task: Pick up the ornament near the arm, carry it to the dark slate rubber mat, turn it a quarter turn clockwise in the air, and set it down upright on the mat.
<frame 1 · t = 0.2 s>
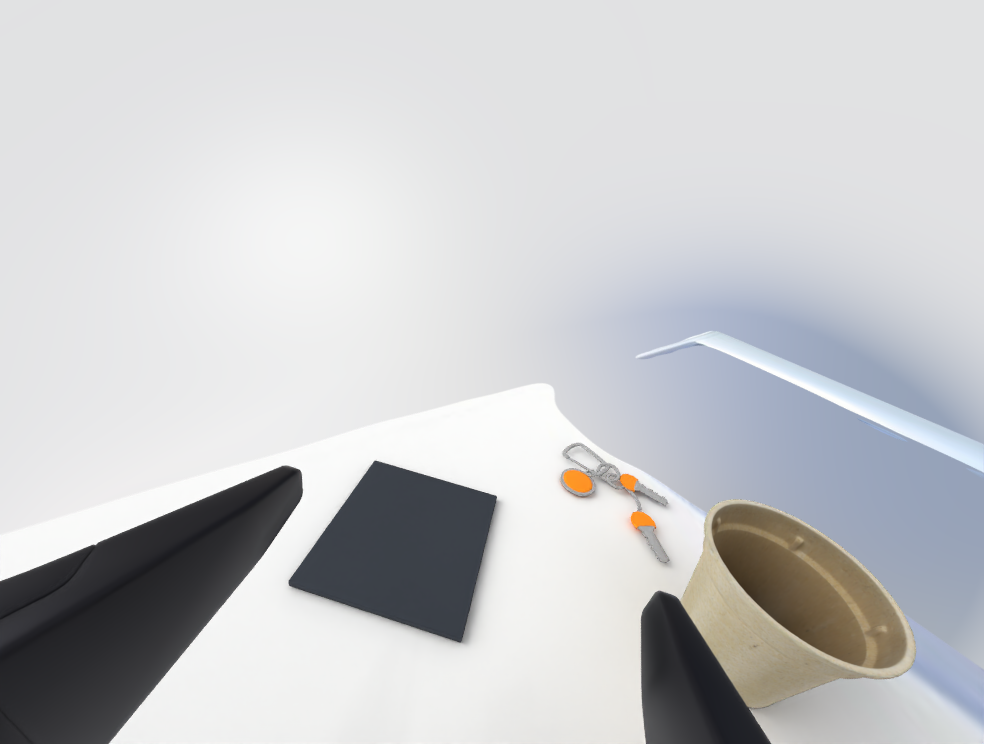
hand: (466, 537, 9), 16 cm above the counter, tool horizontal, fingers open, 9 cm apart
key chain: (613, 495, 34), on the counter
flower pot: (719, 648, 24), on the counter
mat: (409, 535, 26), on the counter
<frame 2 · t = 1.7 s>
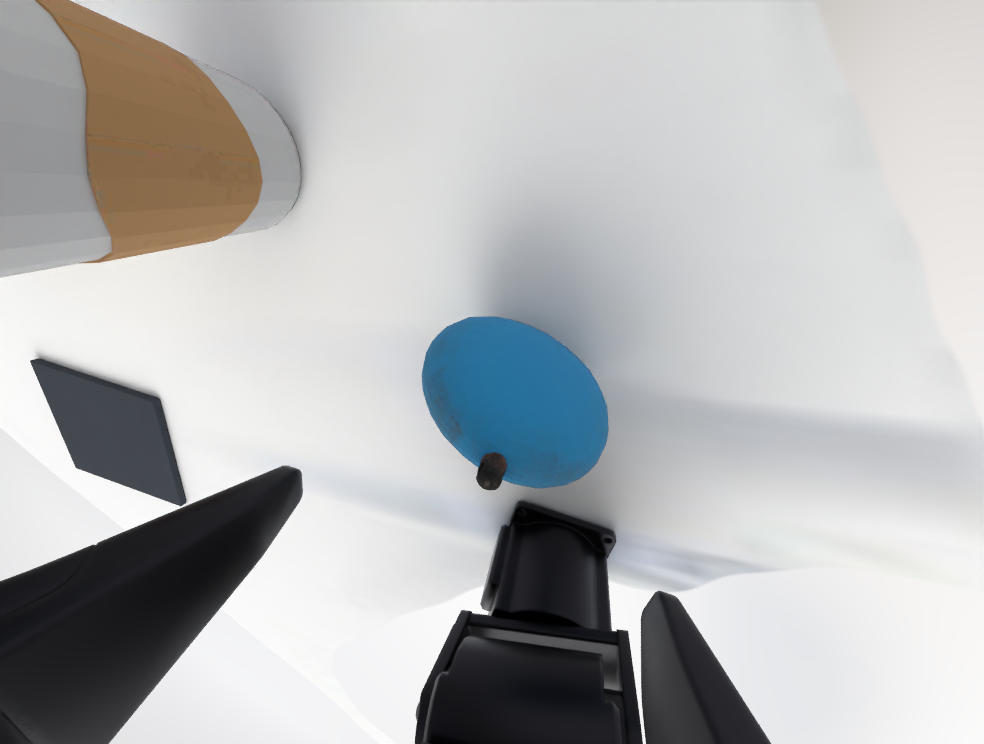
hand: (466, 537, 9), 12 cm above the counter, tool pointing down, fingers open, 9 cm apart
coffee cup: (251, 160, 18), on the counter
mat: (117, 434, 30), on the counter
ornament: (529, 354, 19), on the counter
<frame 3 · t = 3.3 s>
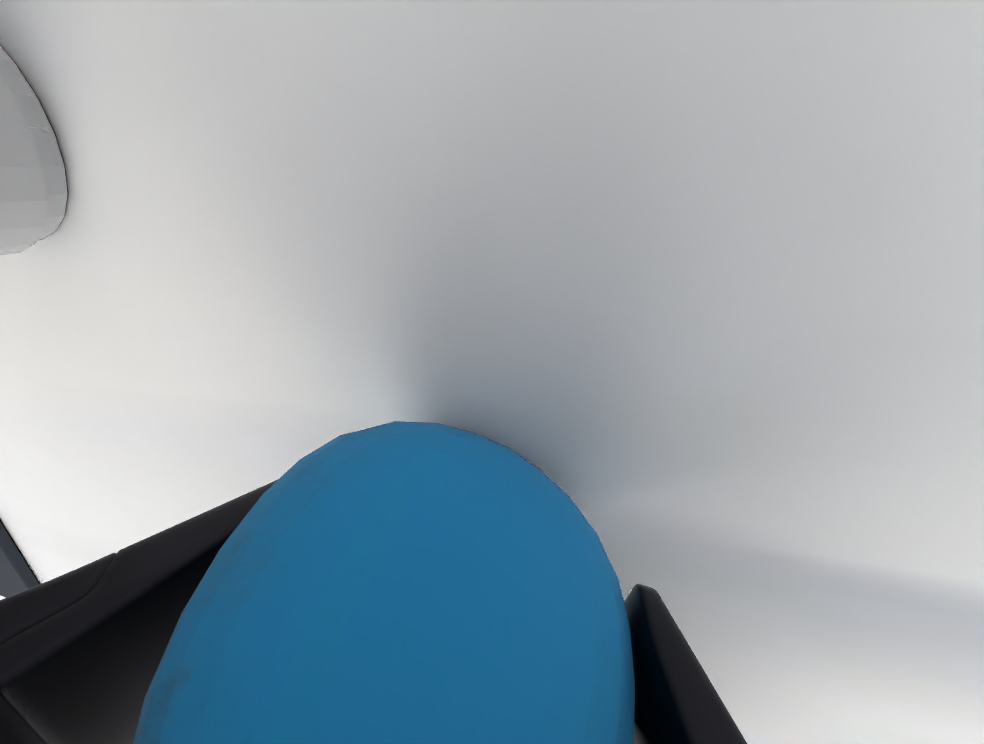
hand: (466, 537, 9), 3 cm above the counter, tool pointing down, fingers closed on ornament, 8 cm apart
ornament: (489, 464, 11), on the counter, touching gripper
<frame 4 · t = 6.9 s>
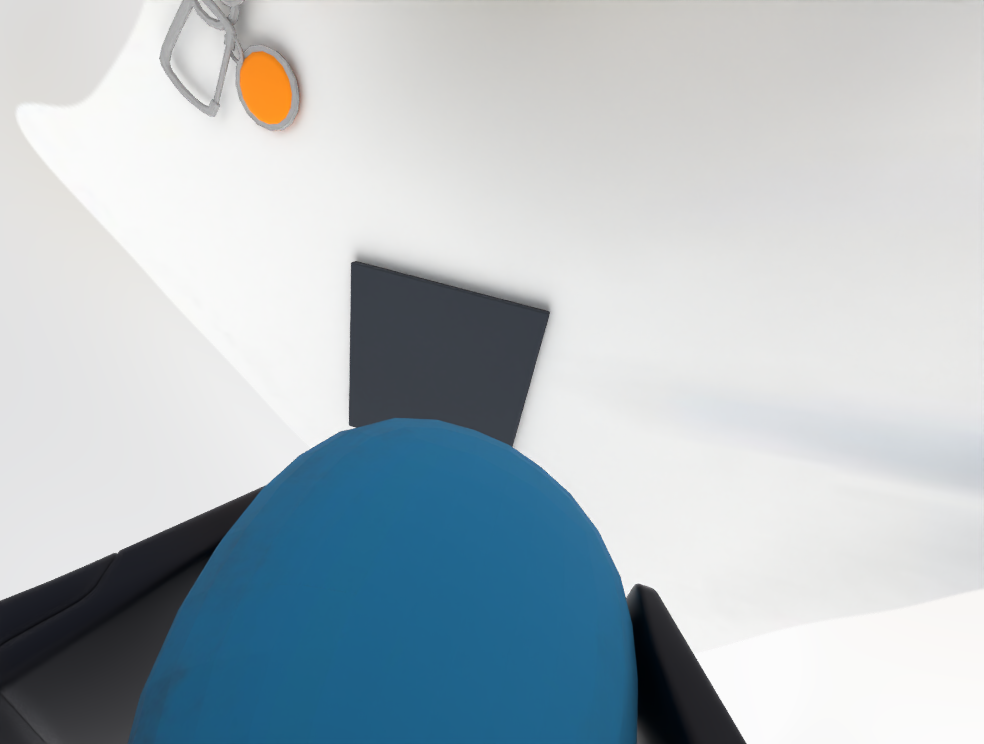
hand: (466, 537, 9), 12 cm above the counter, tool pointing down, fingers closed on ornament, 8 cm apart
mat: (437, 374, 22), on the counter
ornament: (490, 461, 11), point 10 cm above the counter, touching gripper
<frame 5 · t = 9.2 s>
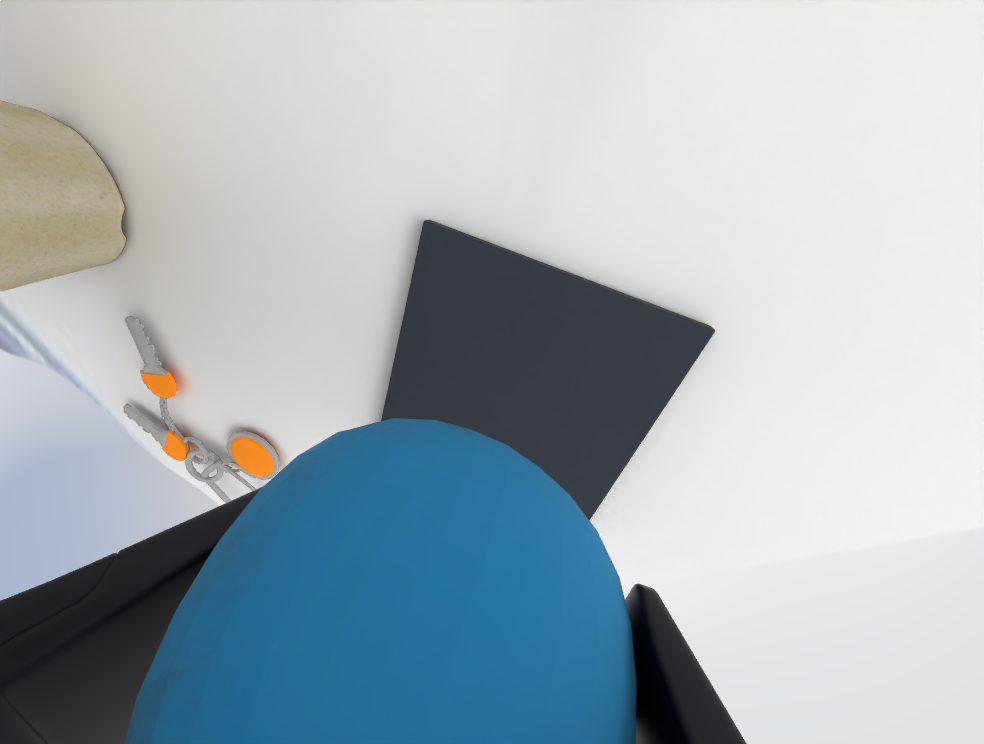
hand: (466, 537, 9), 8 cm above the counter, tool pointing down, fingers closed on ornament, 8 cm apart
key chain: (205, 428, 21), on the counter
flower pot: (78, 195, 17), on the counter
mat: (516, 393, 16), on the counter
ornament: (489, 461, 11), point 5 cm above the counter, touching gripper
when the fingers open (3 cm above the counter, at t = 11.0 s): ornament stays where it is, resting on mat.
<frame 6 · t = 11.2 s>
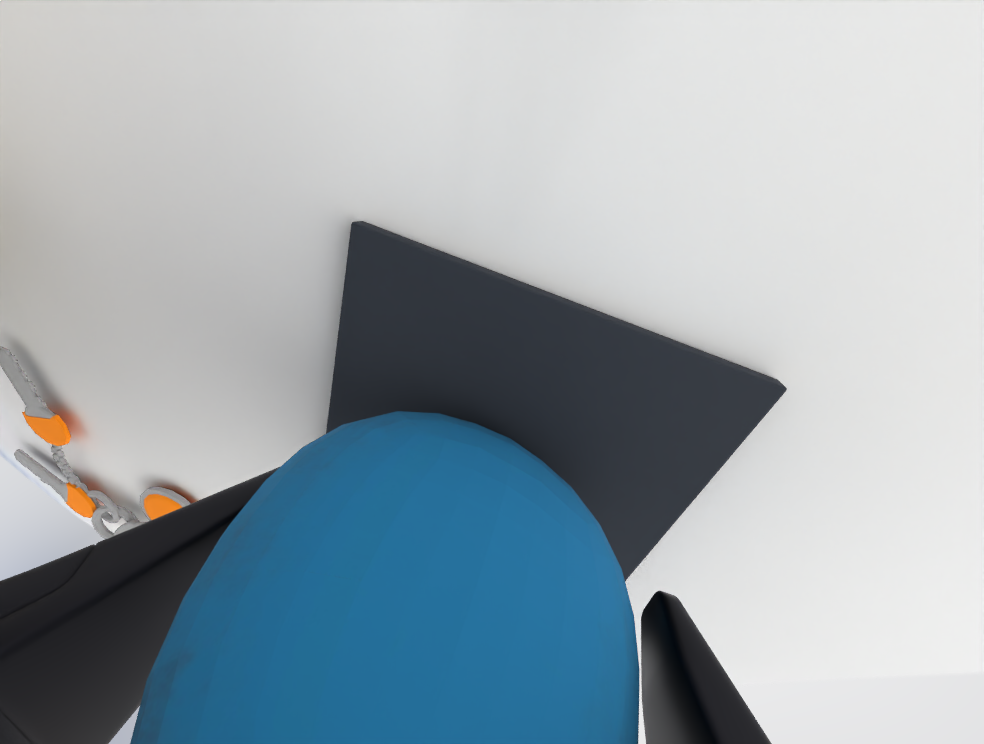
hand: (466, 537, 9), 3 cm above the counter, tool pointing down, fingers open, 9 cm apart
key chain: (115, 479, 17), on the counter
mat: (495, 457, 12), on the counter
ornament: (491, 456, 11), resting on mat
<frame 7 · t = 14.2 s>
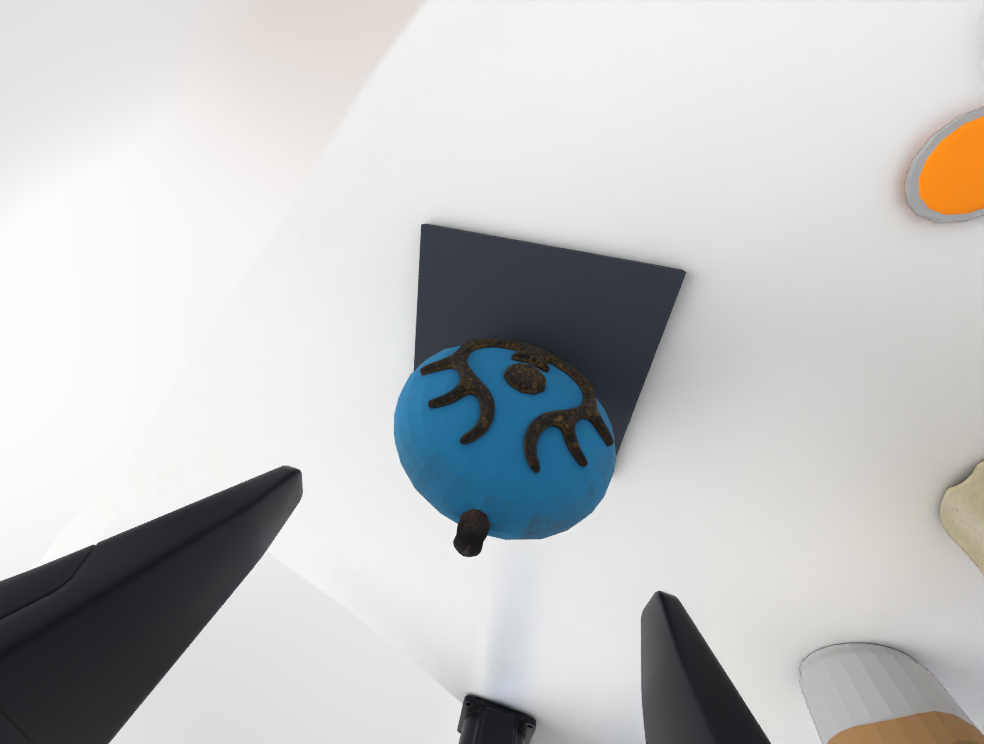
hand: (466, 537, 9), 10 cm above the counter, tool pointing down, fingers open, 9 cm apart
coffee cup: (856, 670, 22), on the counter
mat: (524, 362, 18), on the counter
ornament: (525, 370, 18), resting on mat
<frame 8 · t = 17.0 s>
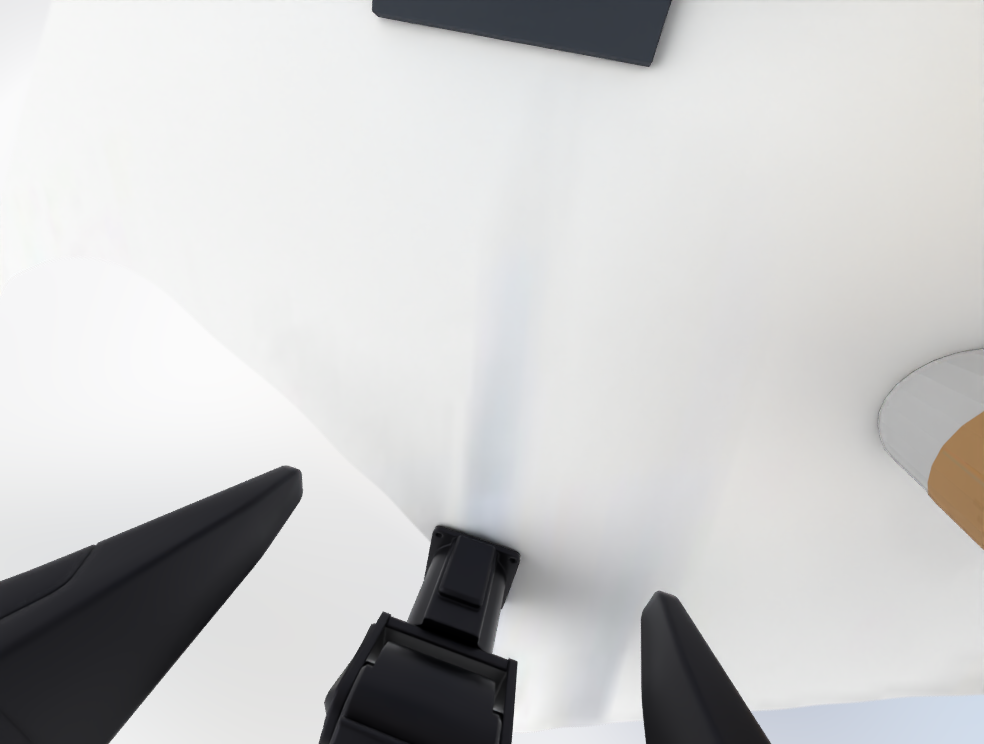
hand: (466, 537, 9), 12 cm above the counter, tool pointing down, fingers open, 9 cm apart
coffee cup: (956, 407, 16), on the counter
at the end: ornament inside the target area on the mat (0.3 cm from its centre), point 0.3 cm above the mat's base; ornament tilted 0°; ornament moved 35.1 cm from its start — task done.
